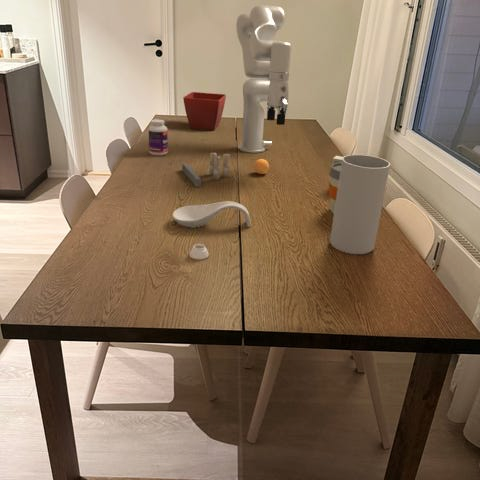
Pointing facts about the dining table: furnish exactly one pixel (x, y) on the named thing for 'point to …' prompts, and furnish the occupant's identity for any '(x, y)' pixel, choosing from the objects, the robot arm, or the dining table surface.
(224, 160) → the front pin
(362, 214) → the cylinder vase
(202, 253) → the white jar
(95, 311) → the dining table surface
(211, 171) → the back right pin
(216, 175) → the back left pin
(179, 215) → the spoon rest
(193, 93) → the plant pot
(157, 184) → the dining table surface
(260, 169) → the ball
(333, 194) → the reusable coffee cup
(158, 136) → the pill bottle
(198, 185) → the back wall
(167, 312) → the dining table surface
